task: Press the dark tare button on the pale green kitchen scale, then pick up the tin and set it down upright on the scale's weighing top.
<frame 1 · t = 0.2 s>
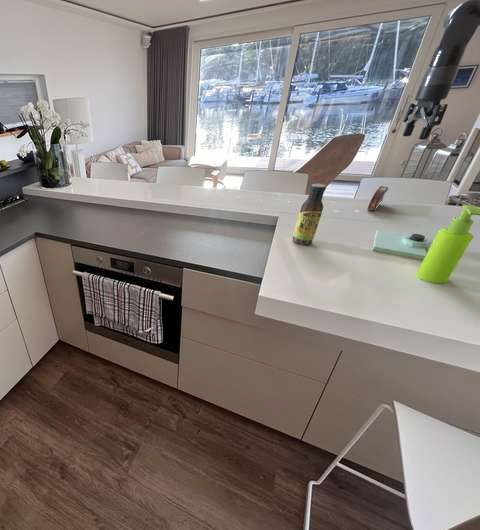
hand: (414, 137, 100), 28 cm above the countertop, tool pointing down, fingers open, 8 cm apart
tare button: (417, 238, 89), point 3 cm above the countertop, slide at 0.1 cm
tin: (374, 208, 120), on the countertop
sauce bottle: (301, 242, 100), on the countertop
scale: (398, 245, 93), on the countertop
soap dispenser: (431, 279, 77), on the countertop
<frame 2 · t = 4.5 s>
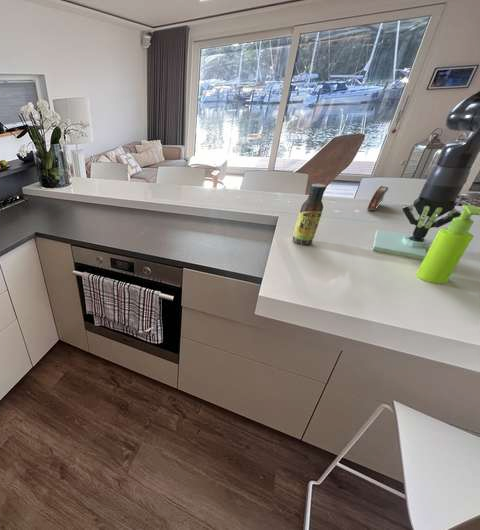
hand: (417, 237, 89), 3 cm above the countertop, tool pointing down, fingers closed
tare button: (416, 240, 89), point 3 cm above the countertop, slide at -0.6 cm, touching gripper
everything else where it was.
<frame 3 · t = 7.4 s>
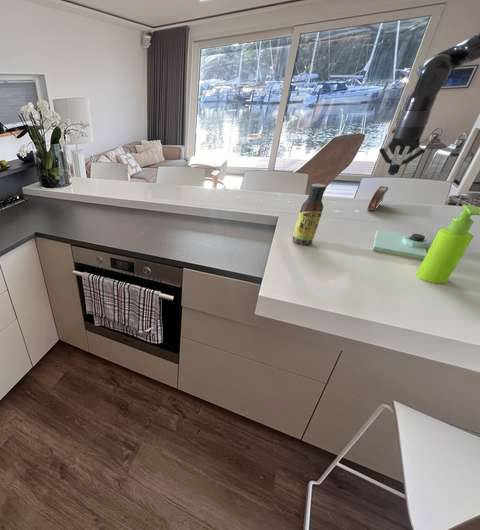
hand: (391, 174, 109), 15 cm above the countertop, tool pointing down, fingers closed
tare button: (417, 238, 89), point 3 cm above the countertop, slide at 0.1 cm
everything else where it was.
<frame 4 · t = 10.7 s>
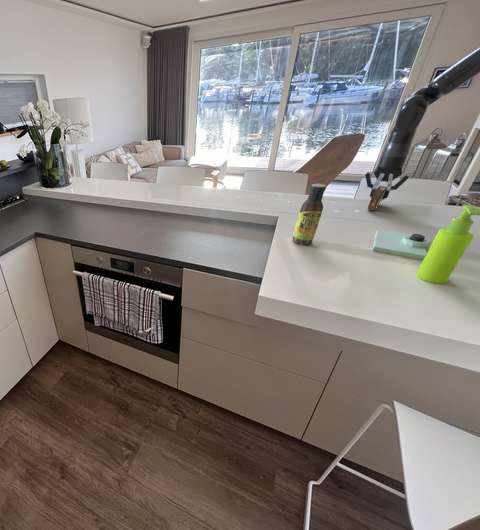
hand: (377, 198, 118), 4 cm above the countertop, tool pointing down, fingers closed on tin, 3 cm apart
tin: (374, 208, 120), on the countertop, touching gripper
everything else where it was.
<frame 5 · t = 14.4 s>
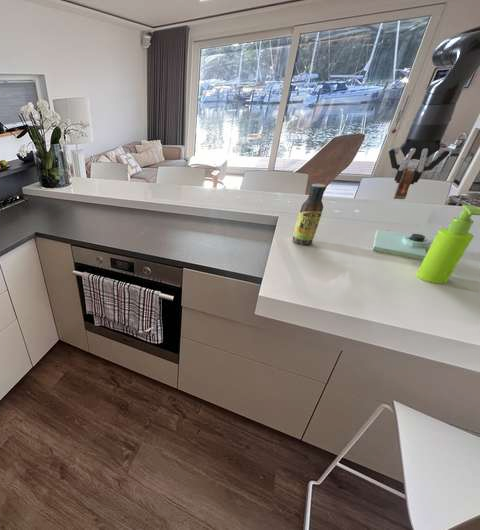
hand: (404, 182, 90), 18 cm above the countertop, tool pointing down, fingers closed on tin, 2 cm apart
tin: (400, 196, 92), point 14 cm above the countertop, touching gripper
everything else where it was.
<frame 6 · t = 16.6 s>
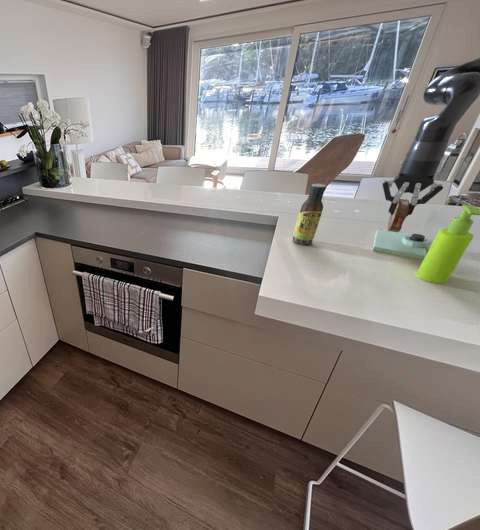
hand: (398, 214, 90), 10 cm above the countertop, tool pointing down, fingers closed on tin, 2 cm apart
tin: (394, 228, 92), point 5 cm above the countertop, touching gripper
everything else where it was.
when the fingers open (6 cm above the countertop, at t = 18.1 s): tin stays where it is, resting on scale.
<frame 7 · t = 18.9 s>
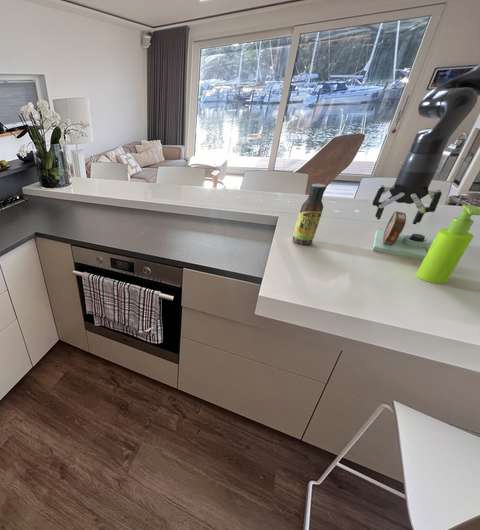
hand: (395, 221, 91), 8 cm above the countertop, tool pointing down, fingers open, 8 cm apart
tin: (388, 240, 94), point 1 cm above the countertop, touching scale
everything else where it was.
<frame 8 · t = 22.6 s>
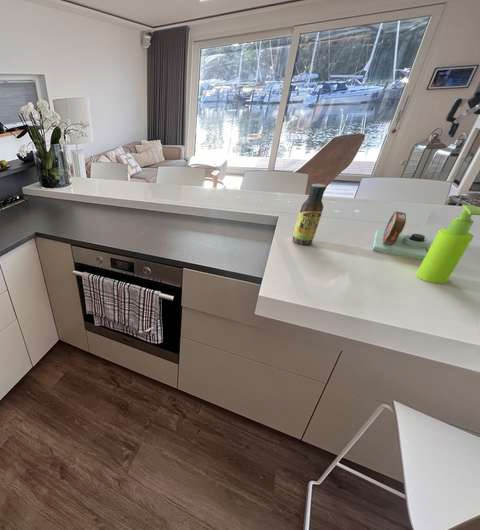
hand: (471, 137, 85), 30 cm above the countertop, tool pointing down, fingers open, 8 cm apart
nothing on the countertop moved.
at the end: tare button pushed in 0.7 cm at the most during the clip, back to where it started at the end; tin inside the target area on the scale (1.1 cm from its centre), point 1.2 cm above the scale's base; tin touching scale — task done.
